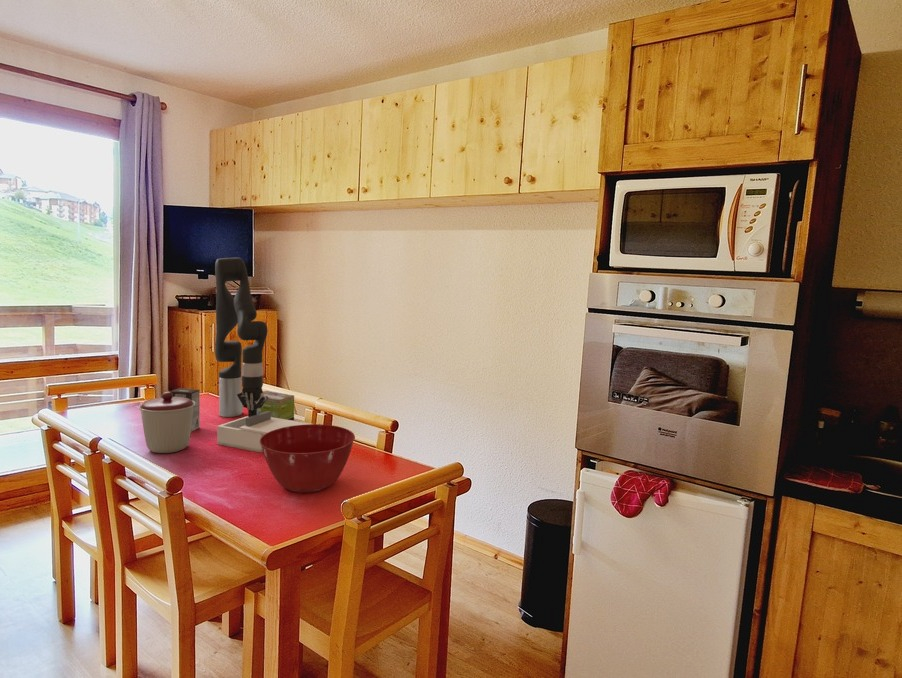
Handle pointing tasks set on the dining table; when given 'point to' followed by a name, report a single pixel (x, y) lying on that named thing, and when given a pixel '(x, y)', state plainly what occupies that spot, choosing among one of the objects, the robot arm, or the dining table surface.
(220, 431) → the box
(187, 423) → the canister
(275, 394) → the tea box
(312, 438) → the mixing bowl
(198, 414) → the coffee box
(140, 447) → the dining table surface
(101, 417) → the dining table surface
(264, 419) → the lid
